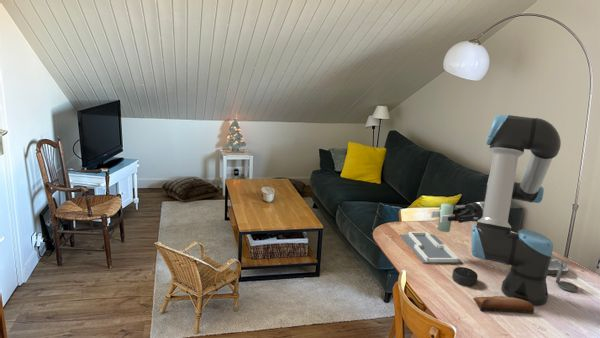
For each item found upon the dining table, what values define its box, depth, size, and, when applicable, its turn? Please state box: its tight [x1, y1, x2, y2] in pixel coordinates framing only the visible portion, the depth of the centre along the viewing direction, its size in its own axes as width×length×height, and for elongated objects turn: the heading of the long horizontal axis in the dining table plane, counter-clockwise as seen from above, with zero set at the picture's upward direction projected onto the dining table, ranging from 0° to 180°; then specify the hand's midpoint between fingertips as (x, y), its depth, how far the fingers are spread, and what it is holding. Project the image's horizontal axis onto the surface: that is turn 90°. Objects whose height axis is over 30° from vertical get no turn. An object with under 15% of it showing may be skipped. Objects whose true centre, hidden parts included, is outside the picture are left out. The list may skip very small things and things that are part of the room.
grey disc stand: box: [555, 260, 579, 292], centre depth 166 cm, size 8×8×10 cm
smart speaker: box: [451, 266, 478, 287], centre depth 166 cm, size 9×9×4 cm
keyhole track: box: [399, 231, 463, 265], centre depth 193 cm, size 28×17×2 cm, turn 8°
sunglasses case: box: [472, 295, 535, 314], centre depth 150 cm, size 18×7×7 cm
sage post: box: [437, 202, 454, 233], centre depth 184 cm, size 5×5×11 cm
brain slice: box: [547, 255, 570, 276], centre depth 184 cm, size 20×17×3 cm
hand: (436, 216), depth 181 cm, fingers closed on sage post, 5 cm apart
